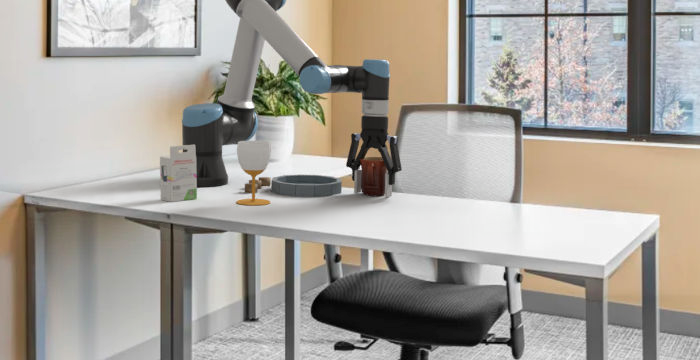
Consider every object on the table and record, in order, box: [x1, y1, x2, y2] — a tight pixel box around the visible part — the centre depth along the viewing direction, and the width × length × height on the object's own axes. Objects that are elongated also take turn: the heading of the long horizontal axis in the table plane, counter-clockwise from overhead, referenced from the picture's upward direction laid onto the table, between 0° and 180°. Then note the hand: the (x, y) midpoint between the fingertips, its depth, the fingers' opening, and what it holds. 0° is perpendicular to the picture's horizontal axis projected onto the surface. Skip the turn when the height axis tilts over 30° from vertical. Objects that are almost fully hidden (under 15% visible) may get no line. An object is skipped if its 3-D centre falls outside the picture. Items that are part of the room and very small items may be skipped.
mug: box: [360, 156, 388, 197], centre depth 249 cm, size 12×9×10 cm
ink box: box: [159, 144, 198, 203], centre depth 235 cm, size 9×5×15 cm, turn 134°
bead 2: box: [248, 179, 262, 190], centre depth 257 cm, size 4×4×2 cm
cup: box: [235, 140, 272, 207], centre depth 233 cm, size 9×9×16 cm
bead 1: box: [244, 182, 259, 194], centre depth 250 cm, size 4×4×2 cm
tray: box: [270, 174, 343, 198], centre depth 255 cm, size 20×20×3 cm
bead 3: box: [257, 176, 272, 187], centre depth 263 cm, size 4×4×2 cm
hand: (372, 194), depth 250 cm, fingers open, 9 cm apart
